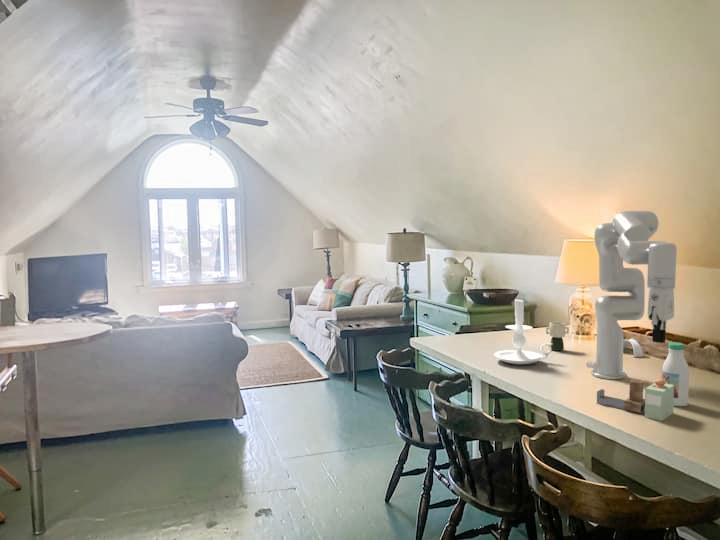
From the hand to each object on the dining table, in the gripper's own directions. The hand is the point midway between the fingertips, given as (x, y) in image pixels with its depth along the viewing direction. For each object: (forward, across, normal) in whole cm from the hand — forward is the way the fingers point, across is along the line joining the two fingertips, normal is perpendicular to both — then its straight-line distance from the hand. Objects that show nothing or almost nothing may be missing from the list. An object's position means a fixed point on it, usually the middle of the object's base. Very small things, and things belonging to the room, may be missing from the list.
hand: (658, 341), depth 170 cm
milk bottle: (+23, +15, -1) cm, 28 cm away
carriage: (+23, -1, +6) cm, 24 cm away
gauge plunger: (+18, -1, -1) cm, 19 cm away
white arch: (+25, +82, +41) cm, 95 cm away
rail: (+23, -1, +9) cm, 24 cm away
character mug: (+25, +64, +64) cm, 94 cm away
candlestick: (+24, +31, +63) cm, 74 cm away
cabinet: (+23, -1, -1) cm, 23 cm away
